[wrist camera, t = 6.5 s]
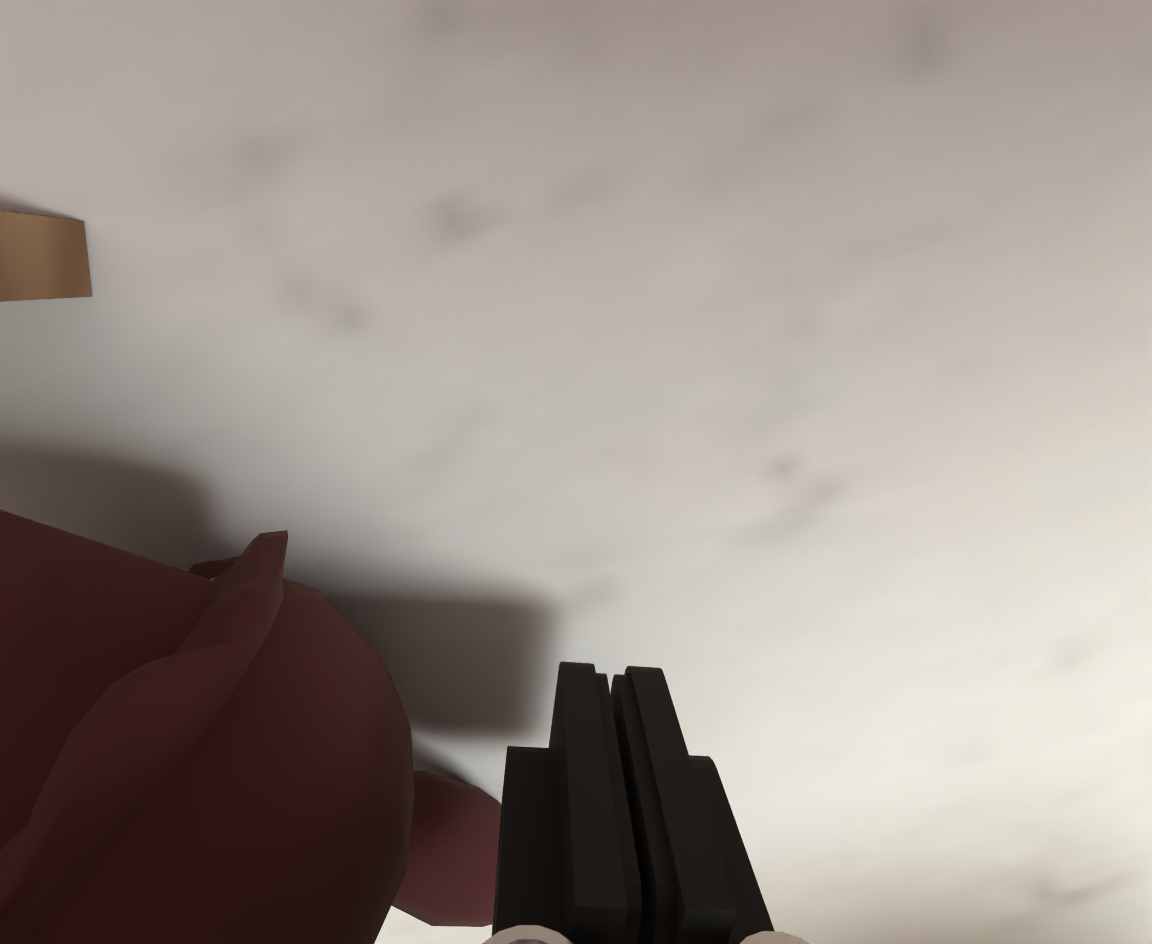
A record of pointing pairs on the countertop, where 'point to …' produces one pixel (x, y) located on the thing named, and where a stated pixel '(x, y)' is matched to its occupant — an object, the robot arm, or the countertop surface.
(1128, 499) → the countertop surface
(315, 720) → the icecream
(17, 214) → the frame
